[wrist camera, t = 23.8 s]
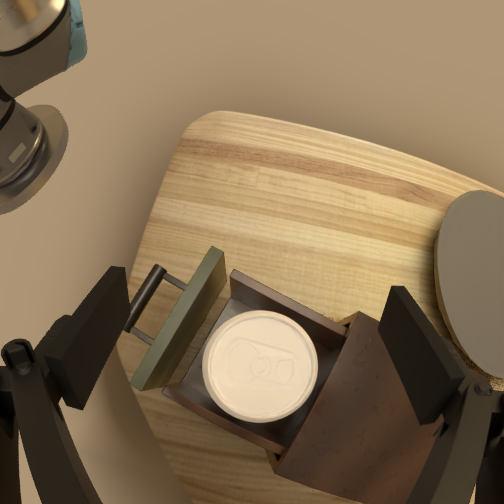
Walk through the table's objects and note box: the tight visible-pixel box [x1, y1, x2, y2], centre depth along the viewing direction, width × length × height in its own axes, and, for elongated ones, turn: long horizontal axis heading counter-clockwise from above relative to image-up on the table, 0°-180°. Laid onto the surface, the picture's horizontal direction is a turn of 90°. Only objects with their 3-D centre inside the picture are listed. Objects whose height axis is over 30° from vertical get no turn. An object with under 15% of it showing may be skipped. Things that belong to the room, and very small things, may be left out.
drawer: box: [123, 246, 348, 456], centre depth 28 cm, size 20×14×9 cm
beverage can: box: [202, 310, 318, 423], centre depth 25 cm, size 8×8×12 cm
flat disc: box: [434, 190, 504, 379], centre depth 35 cm, size 28×28×4 cm
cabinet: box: [265, 311, 490, 504], centre depth 26 cm, size 17×15×11 cm
